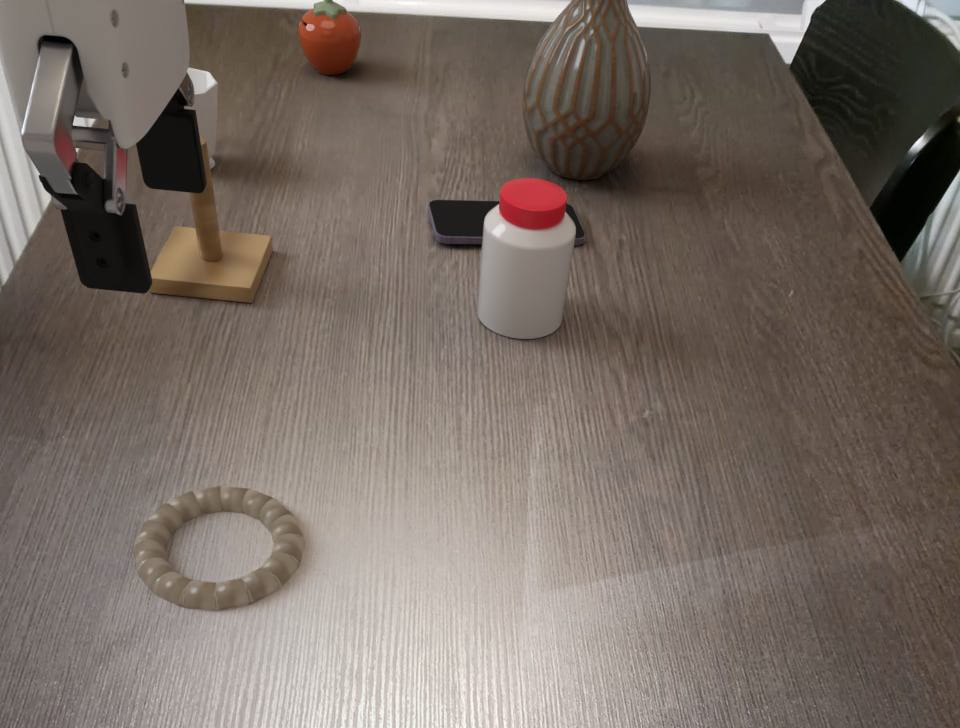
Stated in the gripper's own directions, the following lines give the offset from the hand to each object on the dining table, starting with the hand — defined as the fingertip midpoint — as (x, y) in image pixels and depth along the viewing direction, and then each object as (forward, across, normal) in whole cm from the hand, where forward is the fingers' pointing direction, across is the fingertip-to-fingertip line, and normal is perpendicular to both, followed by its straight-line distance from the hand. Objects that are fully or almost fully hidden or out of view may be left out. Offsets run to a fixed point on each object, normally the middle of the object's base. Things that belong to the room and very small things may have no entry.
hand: (149, 234), depth 48 cm
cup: (+23, -56, -16) cm, 62 cm away
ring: (+22, 0, 0) cm, 22 cm away
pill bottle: (+23, -33, +19) cm, 45 cm away
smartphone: (+23, -48, +17) cm, 56 cm away
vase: (+23, -63, +24) cm, 71 cm away
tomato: (+23, -82, -7) cm, 85 cm away
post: (+23, -35, -9) cm, 43 cm away
